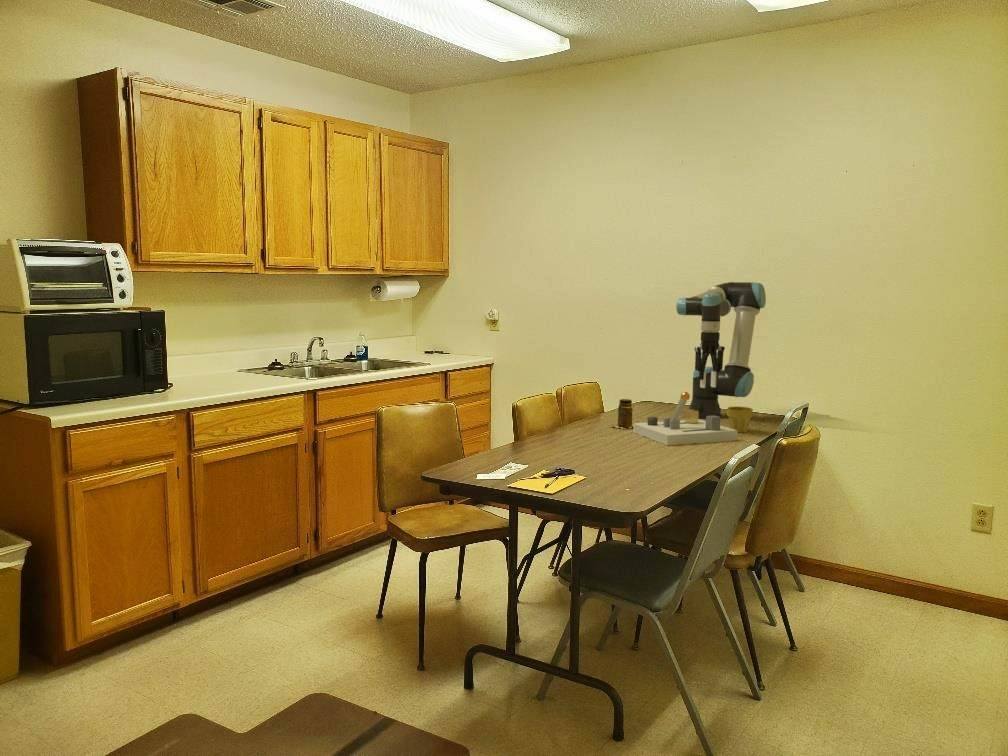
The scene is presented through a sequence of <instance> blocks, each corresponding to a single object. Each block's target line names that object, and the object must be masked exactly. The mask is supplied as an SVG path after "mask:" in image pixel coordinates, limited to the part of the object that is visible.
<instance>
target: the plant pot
mask: <svg viewBox="0 0 1008 756" xmlns="http://www.w3.org/2000/svg"><path fill="white" fill-rule="evenodd" d="M753 411H754V409H753V408H752V407H749V406H728V407H727V408H726V415H727V417H728V420H729V426H730V427H729V428H731V429H734V430H737V433H746V432H748V430H749V427H750V422H751V418H752V417H753V416H754V415H753Z"/></svg>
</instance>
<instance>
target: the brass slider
mask: <svg viewBox="0 0 1008 756" xmlns="http://www.w3.org/2000/svg"><path fill="white" fill-rule="evenodd" d="M698 416H699V411H697V410H688V409H685V410H684V420H685V422H687V423H698V419H699V418H698Z"/></svg>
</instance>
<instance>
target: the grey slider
mask: <svg viewBox="0 0 1008 756" xmlns="http://www.w3.org/2000/svg"><path fill="white" fill-rule="evenodd" d="M721 417H722V416H721ZM721 417H718V416H715V415H714V416H706V419H705V421H706V429H710V430H720V426H721Z"/></svg>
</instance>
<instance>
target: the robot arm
mask: <svg viewBox="0 0 1008 756" xmlns="http://www.w3.org/2000/svg"><path fill="white" fill-rule="evenodd" d="M766 296H767V295H766V289H765V286H764V285H763V284H762V283H761V282H754V281H751V282H745V281H744V282H743V281H742V282H741V281H740V282H739V281H738V282H737V281H736V282H733V281H730V282H724V283H720V284H717V285H714V286H711V287H710V288H708V289H707V290H706V291H705V292H702V293H699V294H697V295H694V296H691V297H680V298H678V299H677V301H676V305H675V307H676V312H677V314H678V315H680V316H700V317H701V320H700V321H701V324H700V330H701V332H700V341H701V343H700V345H698V346H695V347H694V351H695V358H694V360H695V363H694V370H693V375H692V398H691V402H690V404H689V408H688V409H687V410H697V411H699V416H698V419H705V420H706V416H714V415H715V416H718V417H722V411H721V407H720V404H719V396H725V397H735V398H746V397H748V396H749V395H750V393H751V391H752V389H753V386H754V379H755V375H754V373H753V372H752V369H751V367H750V366H749V360H750V353H751V349H752V348H751V347H752V341H753V336H754V330H755V329H754V328H755V323H756V316H757V315H758V314H760V313H761V312H760V311H761V309H764V308H765V306H766V302H767V299H766V298H767V297H766ZM732 308H733V311H734V312H735V313H736V314H735V320H734V325H733V326H734V327H733V333H732V340H731V346H730V352H729V358H728V362H727V363H726V364H725V365H724V351H725V349H726V347H725V346H721V345H720V343H719V341H720V335H721V334H720V331H721V317H725V316H727V315H729V314H730V312H731V311H732ZM709 356H710V359H711V360H710V361H711V366H706V365H707V363H708V362H707V361H708V358H709ZM723 365H724V368H723Z"/></svg>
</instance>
